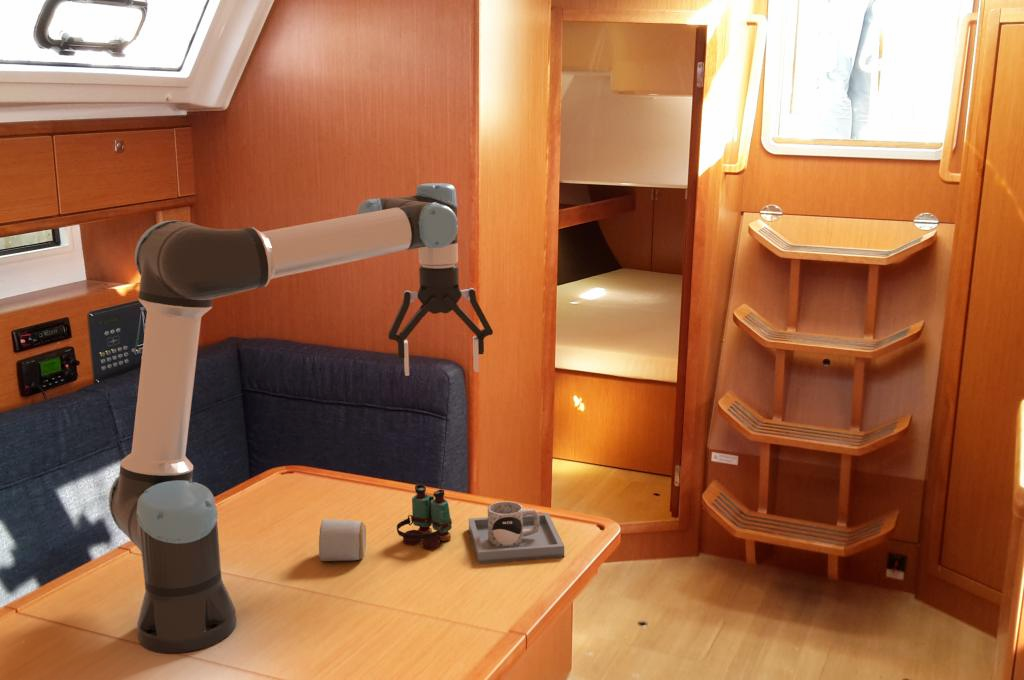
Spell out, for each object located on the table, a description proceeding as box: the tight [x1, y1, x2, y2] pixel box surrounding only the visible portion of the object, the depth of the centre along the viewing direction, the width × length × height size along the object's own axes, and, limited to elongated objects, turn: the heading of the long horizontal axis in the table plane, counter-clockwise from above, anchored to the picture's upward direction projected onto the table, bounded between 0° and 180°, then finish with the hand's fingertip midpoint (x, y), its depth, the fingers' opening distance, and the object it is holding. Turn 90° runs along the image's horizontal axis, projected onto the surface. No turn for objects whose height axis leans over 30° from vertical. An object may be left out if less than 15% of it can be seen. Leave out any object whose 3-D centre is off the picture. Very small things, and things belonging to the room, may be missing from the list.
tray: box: [468, 512, 565, 565], centre depth 197 cm, size 16×16×2 cm
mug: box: [487, 500, 540, 548], centre depth 196 cm, size 10×7×7 cm, turn 102°
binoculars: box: [396, 483, 453, 551], centre depth 197 cm, size 9×11×10 cm
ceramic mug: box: [318, 518, 367, 562], centre depth 192 cm, size 11×8×8 cm
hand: (441, 372), depth 202 cm, fingers open, 13 cm apart
